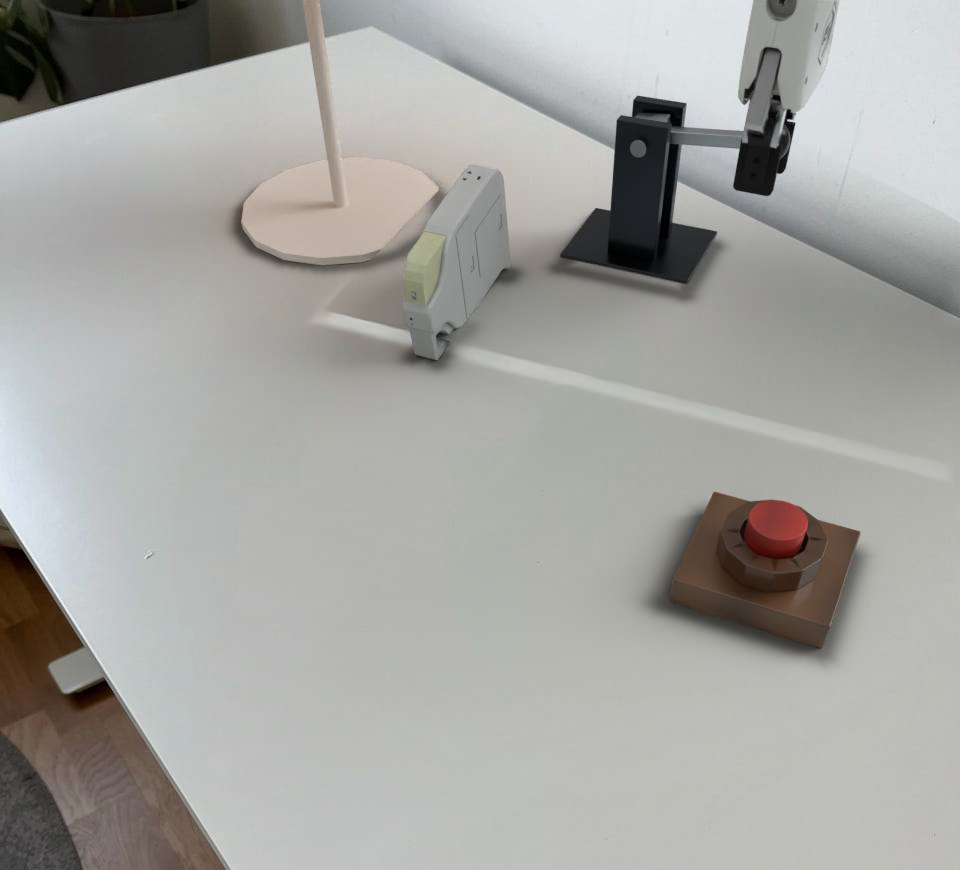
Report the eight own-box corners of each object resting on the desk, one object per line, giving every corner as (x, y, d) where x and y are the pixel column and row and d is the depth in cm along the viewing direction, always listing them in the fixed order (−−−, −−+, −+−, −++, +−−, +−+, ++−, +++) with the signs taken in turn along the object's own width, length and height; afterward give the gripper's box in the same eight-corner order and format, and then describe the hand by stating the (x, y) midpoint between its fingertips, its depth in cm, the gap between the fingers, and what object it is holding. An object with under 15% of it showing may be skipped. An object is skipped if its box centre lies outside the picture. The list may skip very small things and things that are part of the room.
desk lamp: (295, 333, 85) (204, -105, 61) (141, 207, 100) (18, -185, 76) (552, 215, 96) (561, -196, 72) (378, 118, 111) (337, -250, 87)
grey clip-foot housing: (412, 376, 84) (484, 266, 91) (442, 383, 83) (512, 272, 90) (390, 266, 75) (472, 152, 81) (423, 273, 74) (503, 158, 80)
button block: (852, 554, 67) (868, 511, 63) (822, 649, 62) (837, 608, 58) (709, 513, 69) (717, 470, 66) (668, 602, 64) (676, 559, 61)
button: (807, 528, 63) (814, 508, 62) (794, 566, 61) (800, 546, 60) (752, 513, 64) (757, 493, 63) (737, 550, 62) (742, 530, 61)
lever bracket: (715, 244, 92) (738, 99, 82) (685, 294, 87) (706, 146, 77) (594, 220, 95) (603, 79, 85) (559, 266, 90) (564, 122, 80)
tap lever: (792, 154, 80) (797, 113, 78) (782, 172, 79) (786, 130, 76) (640, 143, 85) (640, 104, 83) (627, 160, 83) (627, 120, 81)
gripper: (839, -40, 62) (778, 237, 76) (890, -115, 71) (827, 145, 85) (723, -54, 64) (684, 218, 78) (786, -124, 73) (742, 131, 87)
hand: (759, 178), depth 81 cm, fingers closed on tap lever, 3 cm apart
